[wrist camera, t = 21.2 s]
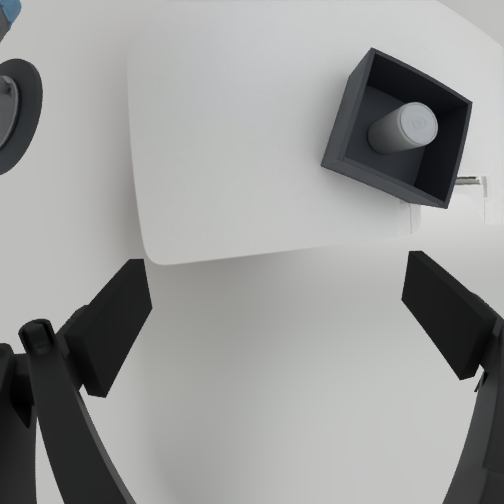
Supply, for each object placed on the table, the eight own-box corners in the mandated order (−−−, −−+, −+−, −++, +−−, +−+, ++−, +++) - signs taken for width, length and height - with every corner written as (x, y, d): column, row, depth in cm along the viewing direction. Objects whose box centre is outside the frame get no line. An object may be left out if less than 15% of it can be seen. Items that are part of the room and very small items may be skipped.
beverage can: (361, 125, 39) (393, 104, 27) (391, 118, 38) (430, 98, 27) (372, 158, 40) (408, 149, 28) (402, 150, 39) (444, 140, 28)
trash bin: (320, 165, 41) (337, 159, 31) (349, 76, 39) (371, 47, 28) (409, 203, 42) (447, 209, 31) (433, 116, 39) (472, 102, 28)
